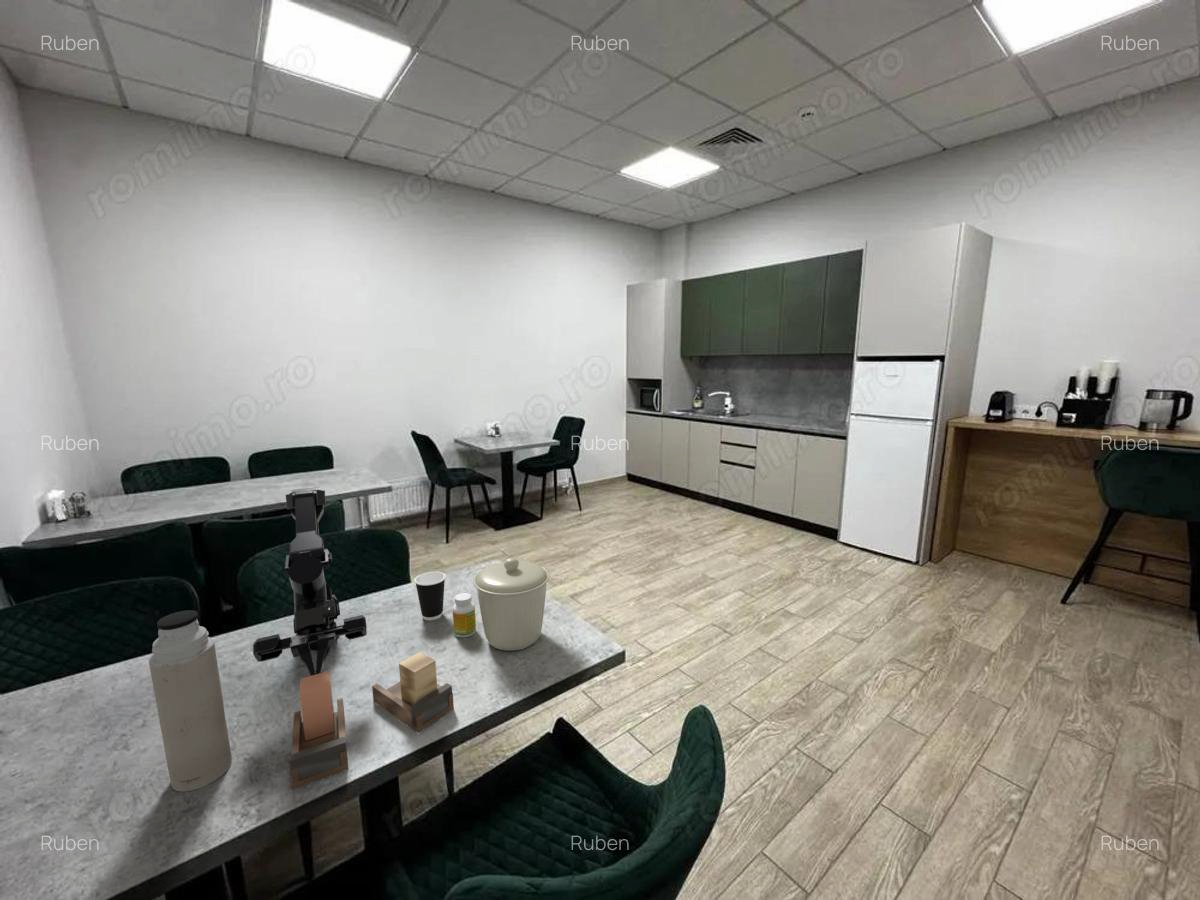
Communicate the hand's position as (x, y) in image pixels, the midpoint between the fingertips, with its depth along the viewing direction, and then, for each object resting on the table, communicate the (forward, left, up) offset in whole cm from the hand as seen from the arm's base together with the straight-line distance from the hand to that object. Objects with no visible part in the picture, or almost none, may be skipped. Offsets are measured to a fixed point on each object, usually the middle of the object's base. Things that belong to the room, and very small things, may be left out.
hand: (316, 682), depth 91 cm
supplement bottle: (+19, +32, -9) cm, 38 cm away
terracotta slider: (+2, -3, -7) cm, 8 cm away
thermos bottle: (-13, -11, -8) cm, 20 cm away
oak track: (+16, +5, -8) cm, 19 cm away
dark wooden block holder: (+4, -6, -8) cm, 11 cm away
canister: (+32, +29, -9) cm, 43 cm away
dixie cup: (+8, +40, -8) cm, 41 cm away
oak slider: (+18, +3, -7) cm, 19 cm away
